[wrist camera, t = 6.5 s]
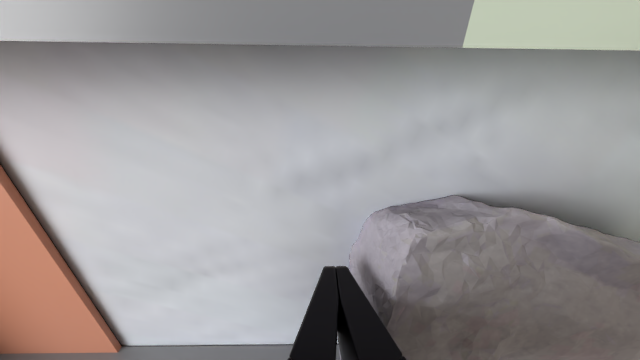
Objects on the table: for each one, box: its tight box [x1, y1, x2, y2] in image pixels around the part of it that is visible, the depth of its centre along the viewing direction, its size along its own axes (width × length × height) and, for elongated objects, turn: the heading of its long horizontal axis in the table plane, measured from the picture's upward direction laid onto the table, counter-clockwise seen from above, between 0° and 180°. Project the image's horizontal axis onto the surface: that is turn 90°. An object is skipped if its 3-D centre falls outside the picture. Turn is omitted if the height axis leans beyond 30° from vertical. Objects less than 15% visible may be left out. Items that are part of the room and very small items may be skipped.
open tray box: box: [0, 0, 640, 360], centre depth 9 cm, size 17×36×4 cm, turn 89°
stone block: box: [339, 195, 640, 360], centre depth 11 cm, size 12×5×10 cm
